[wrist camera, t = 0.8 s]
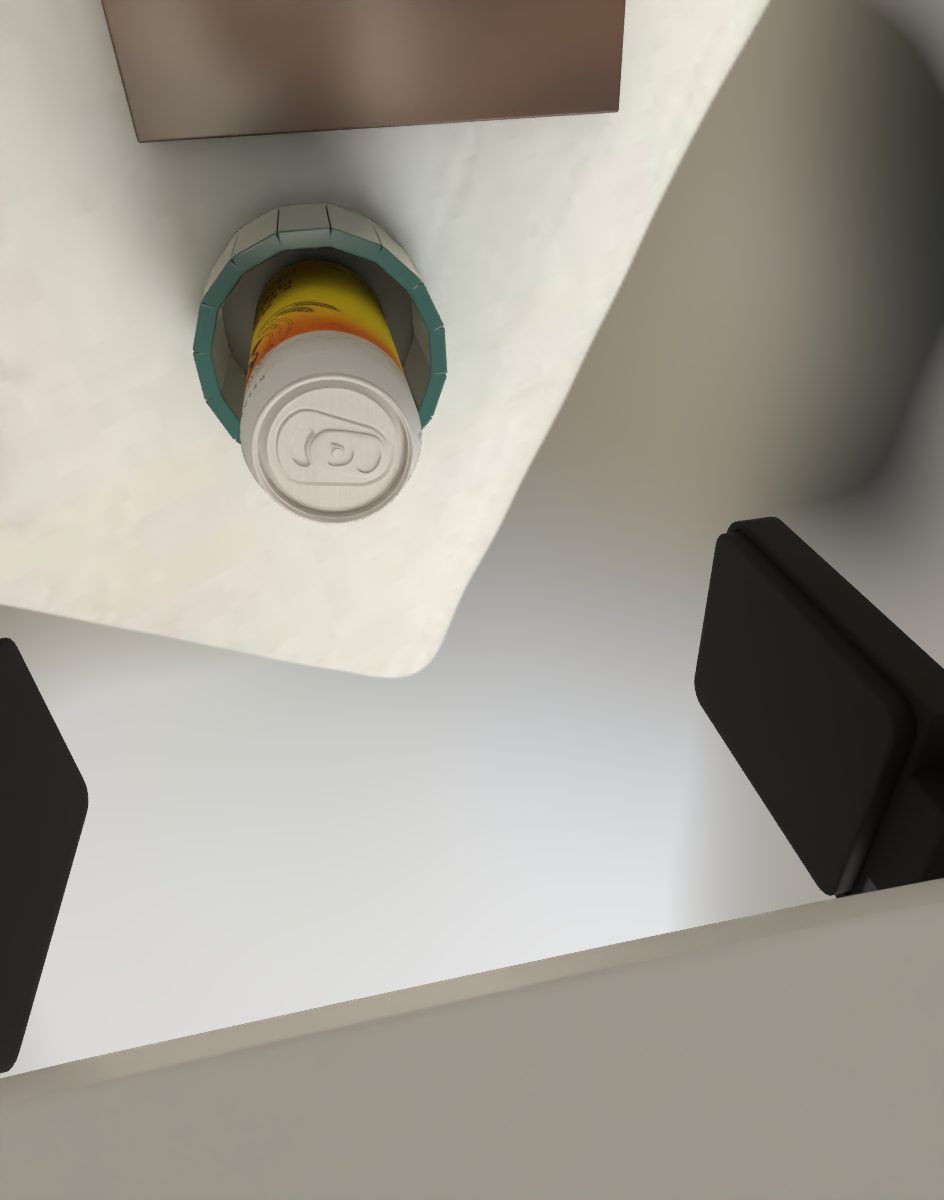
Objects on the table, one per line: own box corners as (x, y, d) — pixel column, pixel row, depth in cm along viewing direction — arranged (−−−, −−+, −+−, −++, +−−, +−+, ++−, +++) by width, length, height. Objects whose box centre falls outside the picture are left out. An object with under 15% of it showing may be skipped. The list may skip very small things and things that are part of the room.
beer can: (261, 242, 34) (245, 345, 22) (393, 271, 36) (444, 380, 24) (250, 373, 38) (231, 523, 26) (372, 393, 39) (407, 543, 27)
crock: (181, 213, 33) (163, 241, 28) (417, 195, 34) (437, 218, 30) (235, 435, 39) (227, 488, 35) (433, 412, 41) (452, 461, 36)
